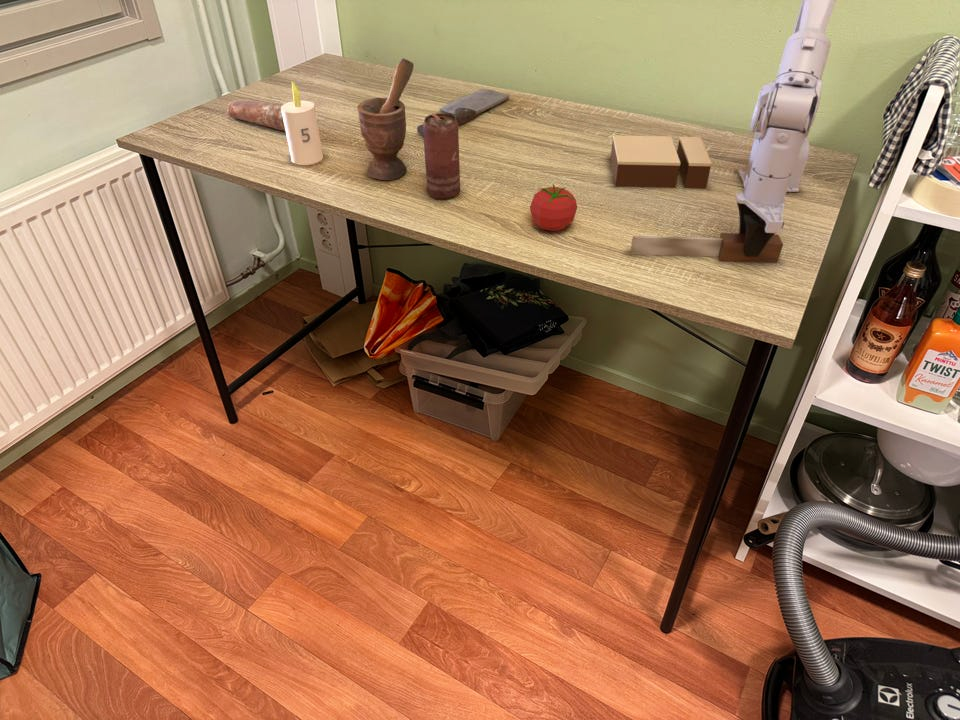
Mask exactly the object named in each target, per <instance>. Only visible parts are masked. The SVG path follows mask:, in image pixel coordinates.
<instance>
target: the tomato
mask: <svg viewBox="0 0 960 720" xmlns="http://www.w3.org/2000/svg"><path fill="white" fill-rule="evenodd" d="M537 190H539V191H537V192H536V193H534V194H533V197H532V200H531V203H530V205H529V211H530V216H531V218H532V221H534V223H535V224H536V225H538V226H539V227H540V228H542V229H543V230H546V231H560V230H564V228H567V226H569V225H570V224H572V222H573V221H574V219H575V216H576V213H577V210H578V204H577V199H576V197H575V196H574V194H573V193H571V192H570V191H569V190H567V189H566V188H565V187H559V186H556V185H555V184H554V183H553V184H552V186H549V187H545V188H544V187H543V188H537Z"/></svg>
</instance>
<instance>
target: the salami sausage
mask: <svg viewBox="0 0 960 720" xmlns="http://www.w3.org/2000/svg"><path fill="white" fill-rule="evenodd" d="M283 104H284V103H279V102H268V101H257V100H241V99H234V100H231V101H230V102H229V103H228V104H227V107H226V112H227V115H228V116H229V117H230V118H234V119H238V120H242V121H245V122H248V123H252V124H256V125H260V126H264V127H268V128H272V129H276V130H279V131H282V132H286V130H285V125H284V121H283V116H282V111H281V106H282V105H283Z"/></svg>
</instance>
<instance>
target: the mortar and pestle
mask: <svg viewBox="0 0 960 720" xmlns="http://www.w3.org/2000/svg"><path fill="white" fill-rule="evenodd" d="M413 72H414V63H413V61H410V60H409V59H406V58H401V59H400V60H399V61H398V63H397V65H396V68H395V71H394V74H393V79H392V83H391V86H390V89H389V94H388V96H387V97H372V98H367V99H365V100H363V101H361V102H359V103H358V104H357V105H356V109H357V114H358V122H359V129H360V134H361V137H362V138H363V140H364V144H365V148H366V149H367V151H369V153H371V154H372V155H373V159H372V160H371V161H370V162H369V163H368V165H367V174H368V175H367V176H368V177H369V178H371V179H374V180H379V181H393V180H397V179H399V178H401V177H403V176H404V175H405V174H406V172H407V167H406V165H405V163H404V162H403V160H402V159H401V158H400V157H398V154H399V152H400V151H401V150H402V148H403V147H404V144H405V139H406V134H407V120H406V119H407V117H406V106H405V103H404V102H403V101H402V100H400V99H401V97H402V94H403V92H404V90H405V88H406V86H407V84H408V83H409V81H410V78H411V76H412V73H413Z"/></svg>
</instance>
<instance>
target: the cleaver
mask: <svg viewBox="0 0 960 720" xmlns="http://www.w3.org/2000/svg"><path fill="white" fill-rule="evenodd" d="M509 98H510V95H509V94H506V93H503V92H500V91H495V90H491V89H481V90H478V91H475V92H472V93H469V94H466V95H464V96H461V97H459V98H457V99H455V100H453V101H451V102H449V103H447V104H445V105H443V106H442V107H440V108H439V110H440V111H442V112H444V113H447V114H451V115H453V116H454V117H455V118H456V120H457V122H458V126H460V125H463V124H465V123H467V122H469V121H472V120H473V119H475V118H477V115H478V114H481V113H483V112H485V111H488V110H490V109H492V108H494V107H496V106H498V105H500V104H502V103H503V102H505V101H507V100H508V99H509ZM416 127H417V128H416V132H417V134H419V135H422V136H424V135H423V123H422V124H419V125H417V126H416Z"/></svg>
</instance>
